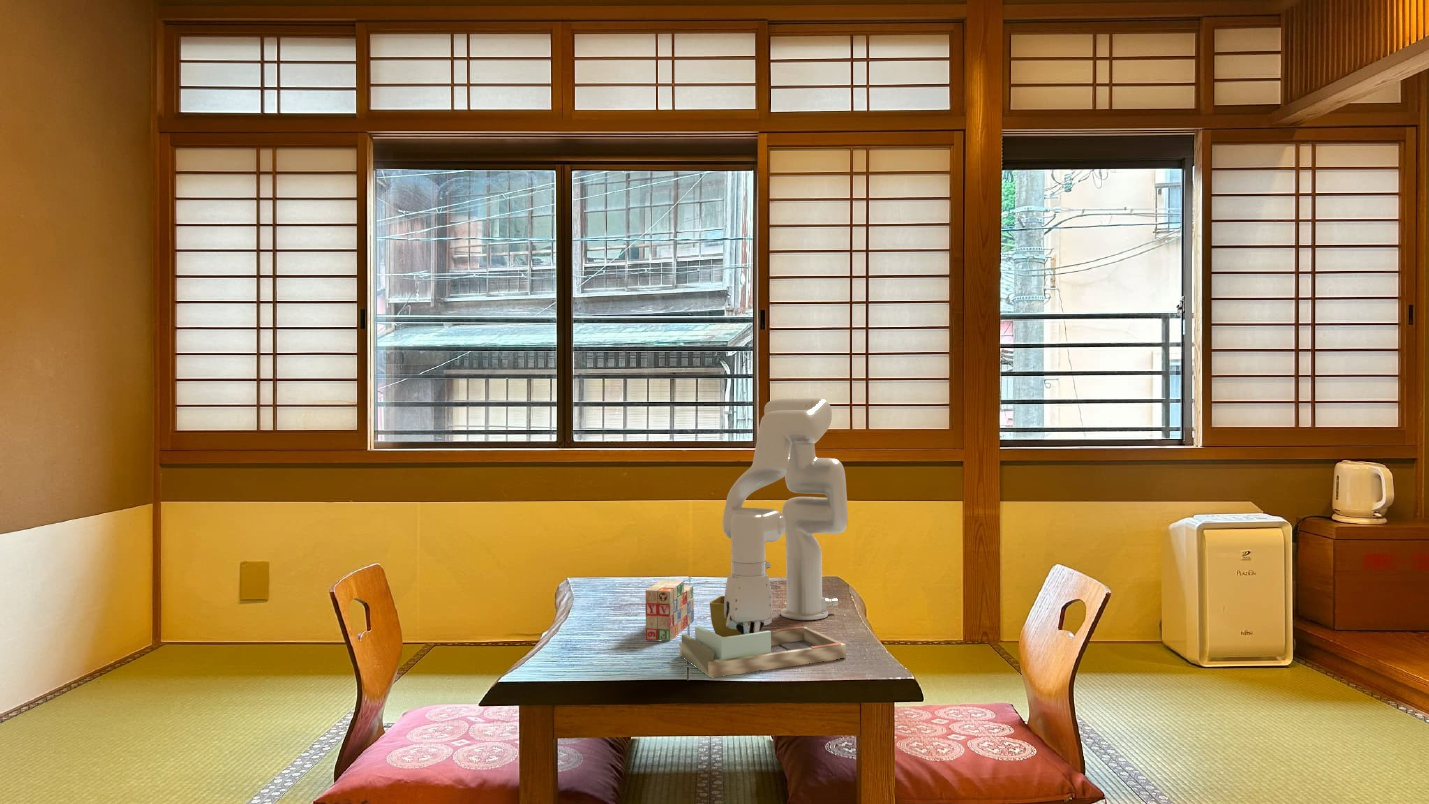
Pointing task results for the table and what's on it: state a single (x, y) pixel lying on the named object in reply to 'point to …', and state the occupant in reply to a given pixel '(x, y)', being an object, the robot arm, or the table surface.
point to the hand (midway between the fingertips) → (749, 652)
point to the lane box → (797, 639)
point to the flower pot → (721, 618)
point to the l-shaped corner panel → (734, 643)
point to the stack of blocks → (668, 609)
